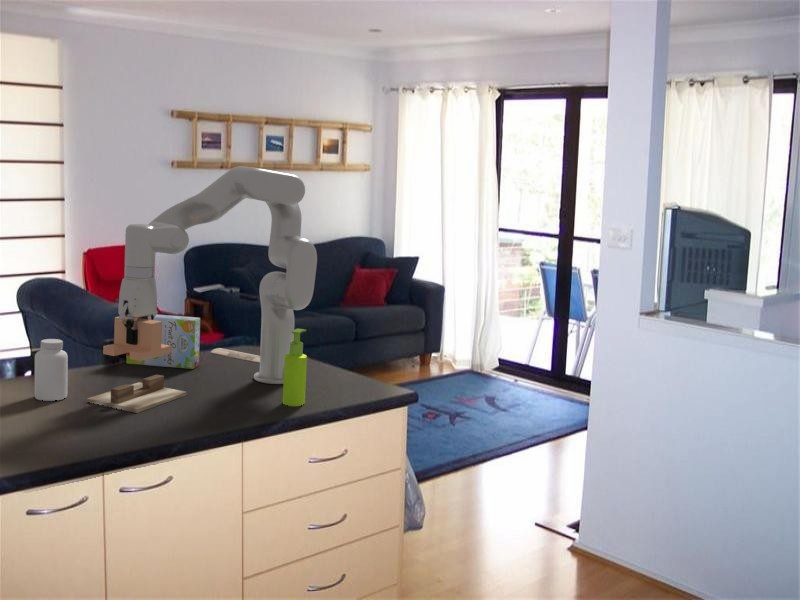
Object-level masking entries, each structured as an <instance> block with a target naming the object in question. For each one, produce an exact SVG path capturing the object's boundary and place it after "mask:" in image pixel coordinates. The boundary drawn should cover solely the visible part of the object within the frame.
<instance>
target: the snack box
mask: <svg viewBox="0 0 800 600" xmlns="http://www.w3.org/2000/svg"><path fill="white" fill-rule="evenodd" d="M139 318H140V317H139ZM144 318H145V317H144ZM153 320H155V321H161V322H162V342H161V344H164V345H170V346H171V353H170V354H166V355H162V356H158V357H155V358H151V359H147V360H143V361H137V360H132V359H130V352H128V353H125V354H126V357H125V358H126V364H129V365H140V366H141V365H142V366H143V365H144V366H150V367H151V366H152V367H153V366H154V367H165V368H176V369H177V368H178V369H187V370H188V369H189V370H190V369H191V370H194V369H196V368H198V367H199V366H200V340H201V339H200V338H201V337H200V336H201V317H194V316H184V315H183V316H181V315H166V314H157V315H156V316H155V317H154V319H153Z"/></svg>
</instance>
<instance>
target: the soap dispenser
mask: <svg viewBox="0 0 800 600" xmlns="http://www.w3.org/2000/svg"><path fill="white" fill-rule="evenodd" d="M304 332H307V329H304V328H294V330H293V331H292V334H294V338H293V341H292V342H290V353H289V354H286V355H285V361H284V384H282V385H283V387H282V388H283V389H282V390H283V391H282V392H283V393H282V404H283V405H284V404H285V405H284V406H287V405H288V406H287V407H301V405H302V406H304V405H305V404H306V390H307V389H306V386H307V385H306V384H307V367H308V355H307V354H304V353H303V349H304V343H303V342H302V341H301V334H302V333H304ZM303 404H304V405H303Z"/></svg>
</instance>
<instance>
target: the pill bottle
mask: <svg viewBox="0 0 800 600" xmlns="http://www.w3.org/2000/svg"><path fill="white" fill-rule="evenodd" d="M63 346H64V341H63V340H62V339H60V338H59V339H58V338H57V339H56V338H46V339H42V340H40V348H39V349H40V350H38V351H37V352H36V353H35V354H34V397H35V399H36V400H38V401H42V400H43V402H55V400H57V401H61V400H65V399H67V397H68V383H69V382H68V380H69V379H68V377H69V375H68V373H69V372H68V369H69V366H68V364H69V363H68V362H69V361H68V359H69V358H68V357H69V356H68V352H66V351H65V350H63V348H64V347H63ZM64 398H65V399H64Z"/></svg>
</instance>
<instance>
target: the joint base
mask: <svg viewBox="0 0 800 600" xmlns="http://www.w3.org/2000/svg"><path fill="white" fill-rule="evenodd" d="M164 380H165V376H164V375H161V374H154V375H151V376H148V377H145V378H144V377H143V378H142V382H136V383H135V382H134V383H132V384H129V383H125V384H122V385H118V386H115V387H112V388H110V391H107V392H104V393H101V394H97V395H94V396H90V397H87V398H86V403H88V402H90V403H89V404H93V403H94V404H95V405H97V404H99V406H102V405H104V406H103V407H107V406H109V407H108V408H111V407H112V408H111V409H116V408H117V410H121V409H122V411H127V412H132V413H136V414H138V413H140V412H144V411H146V410H149V409H152V408H155V407H158V406H161V405H164V404H166V403H169V402H172V401H174V400H177V399H181V398H183V397H186V396H187V394H188V392H187V391H184V390H179V389H173V388H169V387H165V385H164V384H165V381H164ZM94 404H93V405H94Z"/></svg>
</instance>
